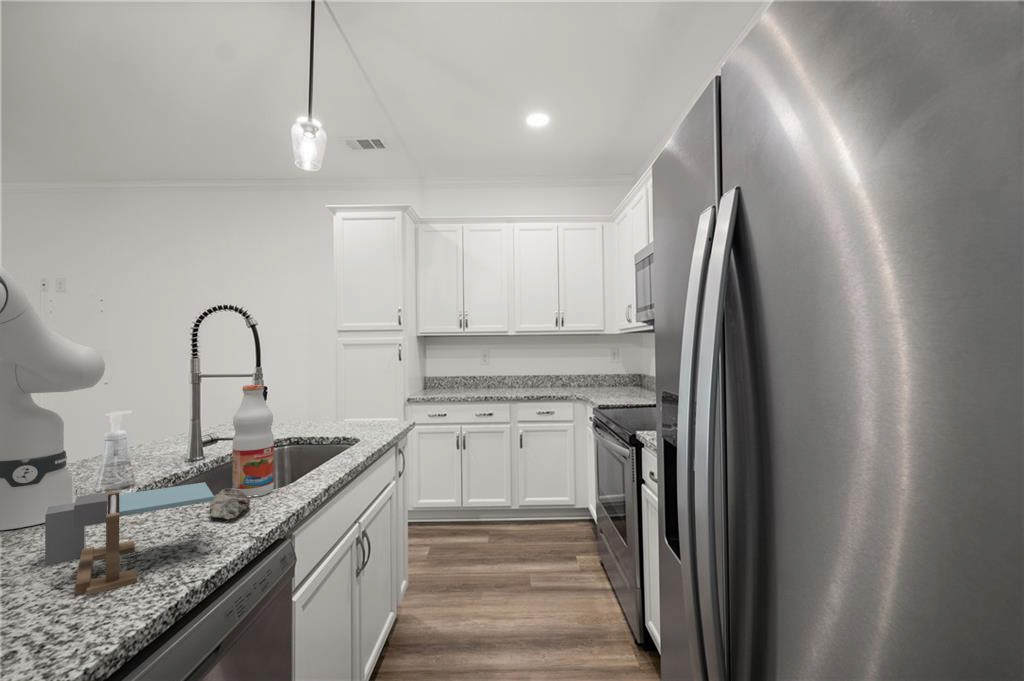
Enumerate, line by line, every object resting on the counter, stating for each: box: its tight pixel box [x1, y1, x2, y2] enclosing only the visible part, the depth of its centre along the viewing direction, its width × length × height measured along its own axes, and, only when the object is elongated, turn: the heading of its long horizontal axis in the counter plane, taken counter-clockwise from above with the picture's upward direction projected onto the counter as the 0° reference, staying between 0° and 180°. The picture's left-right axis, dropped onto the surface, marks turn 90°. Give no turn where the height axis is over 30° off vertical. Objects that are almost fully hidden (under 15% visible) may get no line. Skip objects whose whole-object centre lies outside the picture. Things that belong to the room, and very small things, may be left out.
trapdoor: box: [73, 481, 215, 528], centre depth 83 cm, size 13×19×4 cm
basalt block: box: [44, 503, 87, 567], centre depth 84 cm, size 5×5×9 cm
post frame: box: [74, 490, 138, 596], centre depth 79 cm, size 19×7×11 cm, turn 40°
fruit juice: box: [231, 384, 275, 499], centre depth 121 cm, size 9×9×28 cm
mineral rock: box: [208, 487, 251, 520], centre depth 106 cm, size 15×8×4 cm, turn 15°
